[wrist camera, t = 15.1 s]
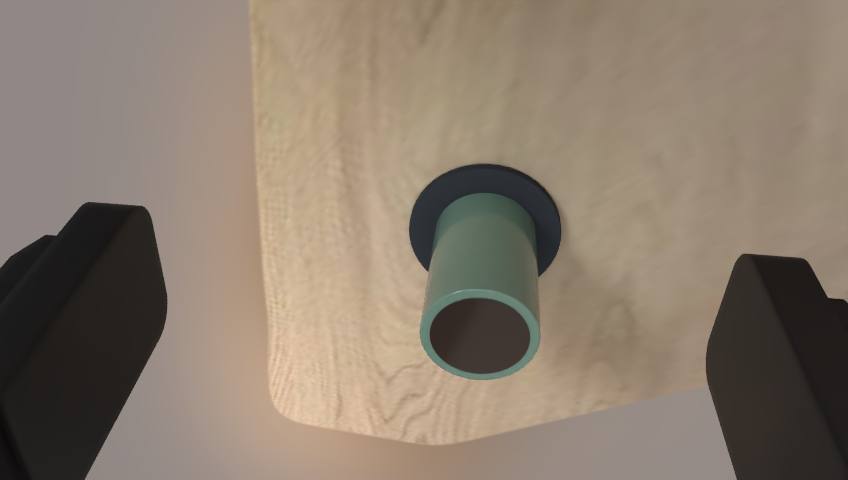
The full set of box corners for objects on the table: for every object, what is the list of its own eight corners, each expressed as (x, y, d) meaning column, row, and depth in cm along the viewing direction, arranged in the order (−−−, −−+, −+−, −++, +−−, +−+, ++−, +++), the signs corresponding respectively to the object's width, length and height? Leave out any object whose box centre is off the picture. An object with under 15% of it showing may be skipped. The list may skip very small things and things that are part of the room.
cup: (416, 245, 46) (397, 347, 39) (470, 174, 43) (461, 269, 36) (498, 291, 48) (495, 397, 40) (557, 225, 44) (565, 327, 37)
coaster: (383, 244, 47) (381, 250, 47) (462, 135, 42) (462, 140, 42) (503, 310, 49) (503, 316, 49) (592, 214, 45) (592, 219, 44)
